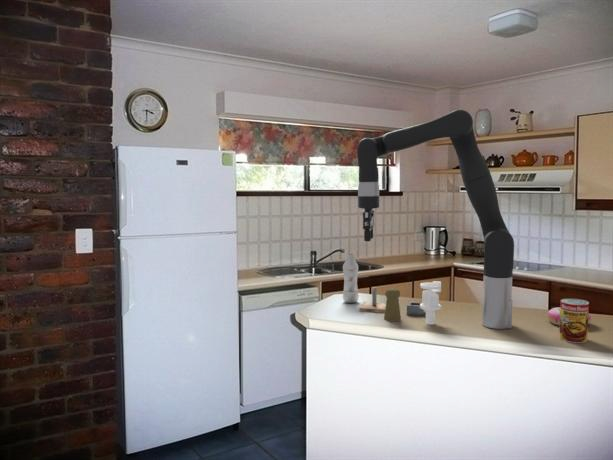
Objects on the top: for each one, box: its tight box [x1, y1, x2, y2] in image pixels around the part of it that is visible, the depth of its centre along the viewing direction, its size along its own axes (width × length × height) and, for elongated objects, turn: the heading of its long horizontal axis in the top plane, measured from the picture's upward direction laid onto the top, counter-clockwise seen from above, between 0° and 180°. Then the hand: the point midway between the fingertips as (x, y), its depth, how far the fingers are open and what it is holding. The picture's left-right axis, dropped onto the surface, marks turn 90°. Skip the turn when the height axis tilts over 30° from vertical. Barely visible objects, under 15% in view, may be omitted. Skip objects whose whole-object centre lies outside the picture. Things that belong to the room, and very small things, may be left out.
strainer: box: [419, 280, 442, 326], centre depth 184 cm, size 7×7×15 cm
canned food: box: [558, 298, 590, 344], centre depth 165 cm, size 8×8×12 cm
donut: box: [546, 306, 592, 327], centre depth 183 cm, size 14×13×5 cm
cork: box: [383, 287, 402, 322], centre depth 191 cm, size 6×6×11 cm
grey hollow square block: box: [406, 301, 425, 317], centre depth 199 cm, size 6×6×4 cm
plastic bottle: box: [342, 253, 360, 304], centre depth 216 cm, size 6×7×20 cm
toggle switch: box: [358, 287, 386, 314], centre depth 206 cm, size 10×10×8 cm
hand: (368, 239), depth 191 cm, fingers open, 8 cm apart
